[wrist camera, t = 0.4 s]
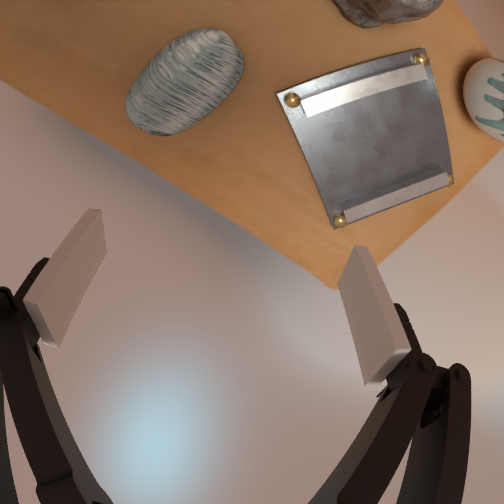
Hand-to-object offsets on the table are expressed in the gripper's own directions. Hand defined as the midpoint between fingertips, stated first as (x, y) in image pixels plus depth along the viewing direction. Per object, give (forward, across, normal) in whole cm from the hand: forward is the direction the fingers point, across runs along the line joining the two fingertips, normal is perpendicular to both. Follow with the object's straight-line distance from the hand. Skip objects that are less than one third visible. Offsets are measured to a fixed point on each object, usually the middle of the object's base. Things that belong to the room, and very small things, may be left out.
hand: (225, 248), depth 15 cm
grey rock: (+24, -7, +6) cm, 26 cm away
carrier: (+24, +17, +3) cm, 30 cm away
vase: (+24, +32, +16) cm, 43 cm away
